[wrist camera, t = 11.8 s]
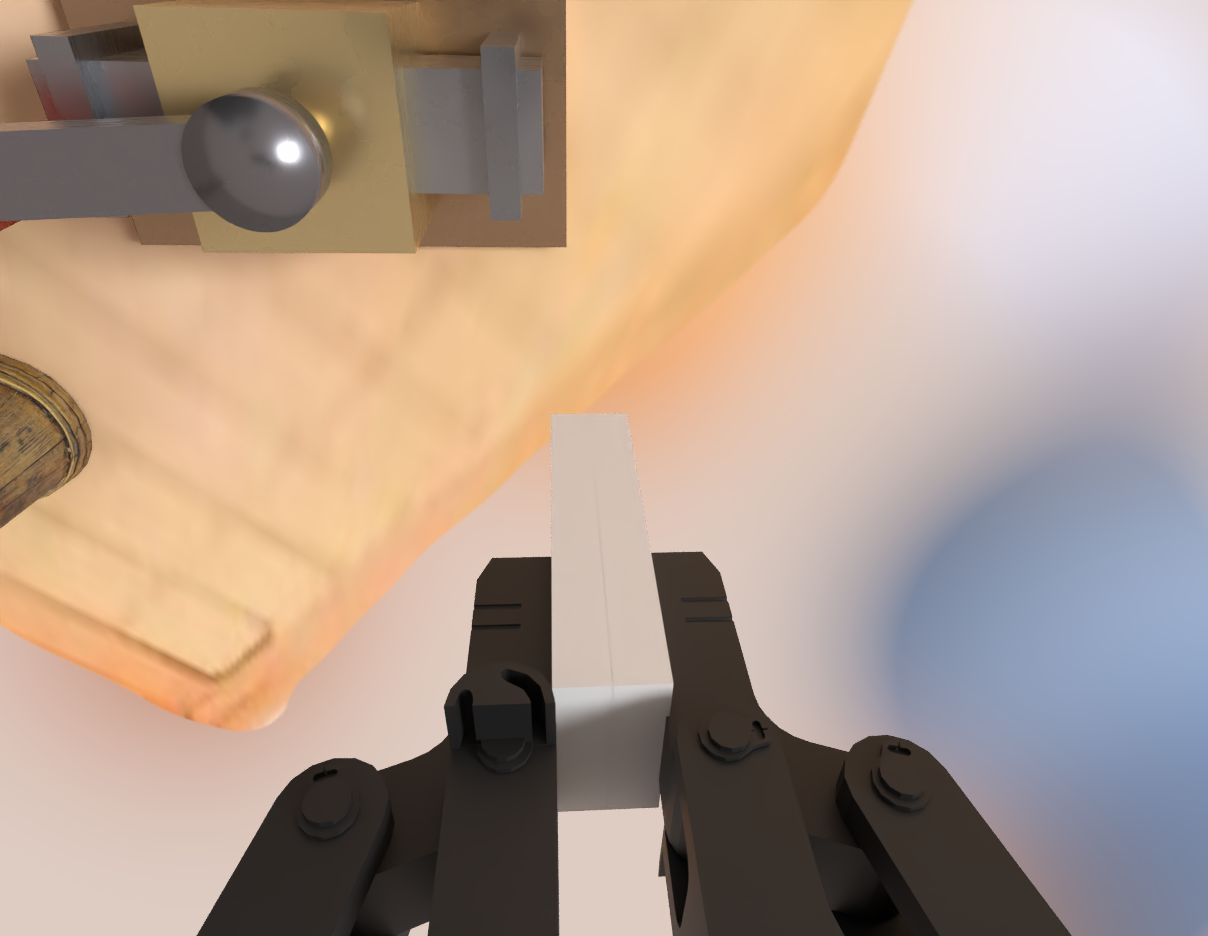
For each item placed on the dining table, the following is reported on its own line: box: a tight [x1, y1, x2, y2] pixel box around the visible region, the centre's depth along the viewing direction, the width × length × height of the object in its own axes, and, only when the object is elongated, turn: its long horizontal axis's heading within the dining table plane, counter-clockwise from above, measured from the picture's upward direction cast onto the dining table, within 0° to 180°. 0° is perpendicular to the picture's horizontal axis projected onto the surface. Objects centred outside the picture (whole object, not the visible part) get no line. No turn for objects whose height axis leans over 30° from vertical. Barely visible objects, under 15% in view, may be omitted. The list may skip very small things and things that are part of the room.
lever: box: [0, 87, 333, 232], centre depth 23 cm, size 16×4×2 cm, turn 92°
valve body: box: [26, 0, 566, 253], centre depth 29 cm, size 12×20×10 cm, turn 88°
